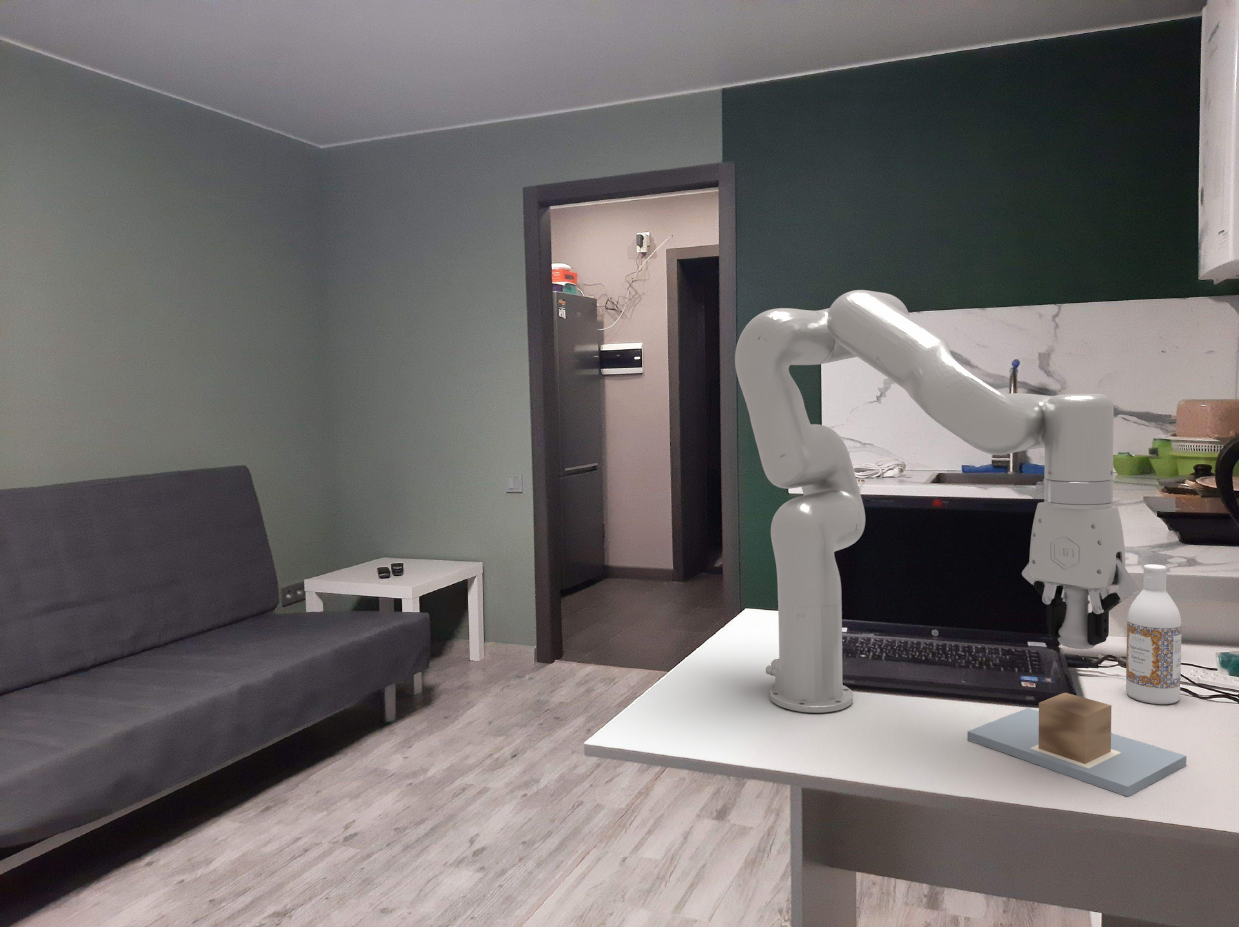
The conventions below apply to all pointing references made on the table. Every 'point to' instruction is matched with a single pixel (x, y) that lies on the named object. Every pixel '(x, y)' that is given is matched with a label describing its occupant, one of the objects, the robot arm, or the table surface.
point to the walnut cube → (1075, 727)
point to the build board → (1113, 771)
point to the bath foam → (1154, 642)
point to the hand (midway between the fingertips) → (1076, 636)
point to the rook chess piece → (1075, 619)
